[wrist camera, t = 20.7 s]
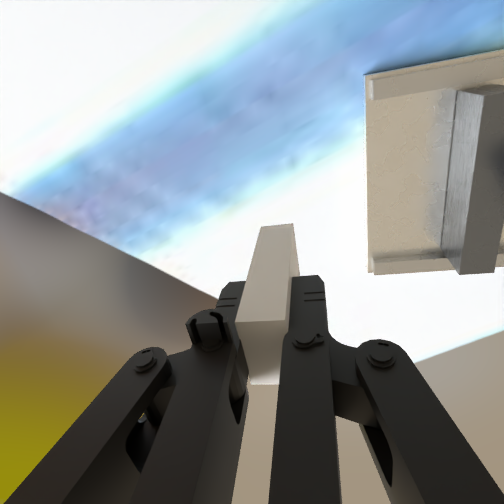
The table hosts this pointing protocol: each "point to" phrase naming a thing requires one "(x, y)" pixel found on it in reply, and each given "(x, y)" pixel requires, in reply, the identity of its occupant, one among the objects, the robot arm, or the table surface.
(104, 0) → the table surface
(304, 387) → the robot arm
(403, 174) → the beige square tray
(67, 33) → the table surface
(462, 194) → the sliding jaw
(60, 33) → the table surface
